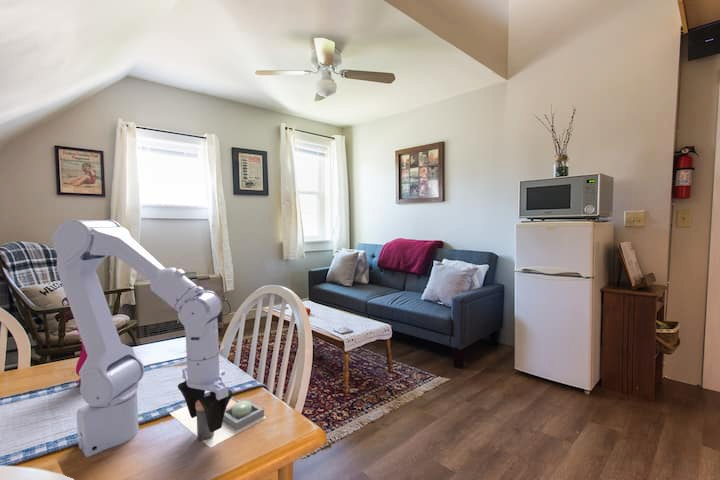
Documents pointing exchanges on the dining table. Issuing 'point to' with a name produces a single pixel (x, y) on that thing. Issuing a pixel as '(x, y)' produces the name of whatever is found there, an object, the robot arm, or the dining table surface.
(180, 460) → the dining table surface
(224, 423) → the board
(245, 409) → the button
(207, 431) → the marker
